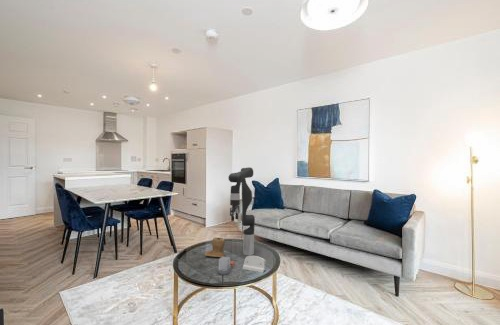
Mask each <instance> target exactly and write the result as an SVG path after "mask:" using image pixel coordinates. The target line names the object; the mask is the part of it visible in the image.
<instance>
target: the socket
mask: <svg viewBox="0 0 500 325" xmlns="http://www.w3.org/2000/svg"><path fill="white" fill-rule="evenodd" d="M230 261H231V257H229V256H222V257H219V259H218V271H219V270H225V271H227V270H228V269H229V268H230Z"/></svg>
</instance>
